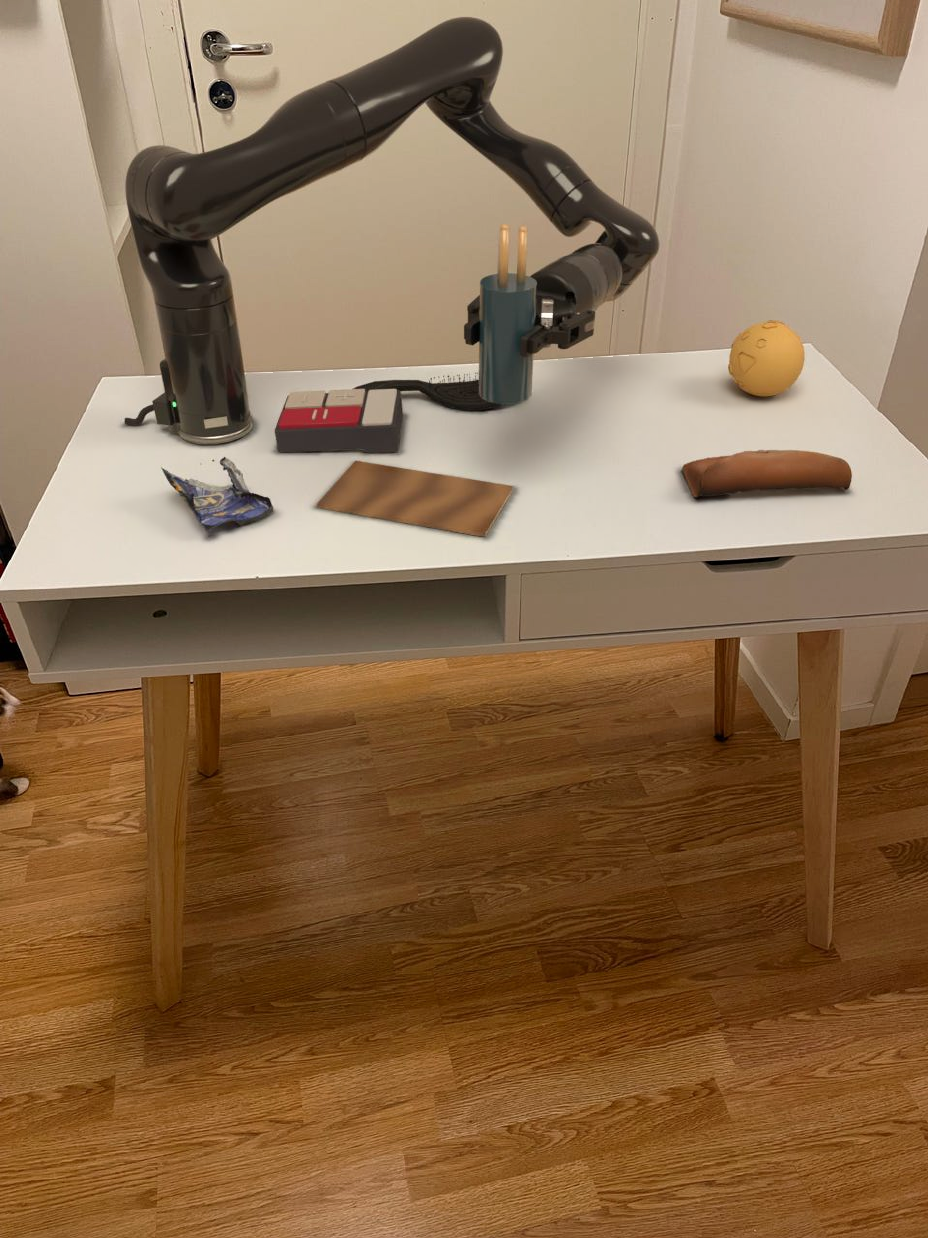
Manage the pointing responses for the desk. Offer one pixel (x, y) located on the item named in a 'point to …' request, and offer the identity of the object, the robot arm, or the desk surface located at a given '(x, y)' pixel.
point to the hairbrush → (440, 392)
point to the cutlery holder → (506, 326)
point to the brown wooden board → (417, 498)
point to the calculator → (340, 421)
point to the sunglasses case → (766, 472)
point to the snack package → (221, 499)
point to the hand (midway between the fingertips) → (495, 341)
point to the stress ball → (766, 358)
